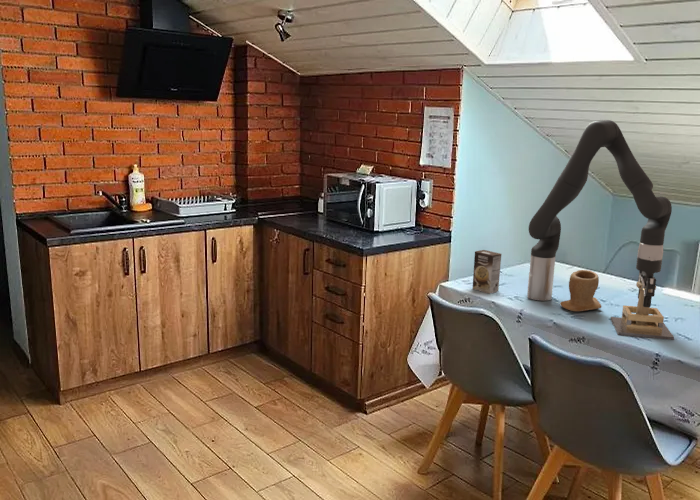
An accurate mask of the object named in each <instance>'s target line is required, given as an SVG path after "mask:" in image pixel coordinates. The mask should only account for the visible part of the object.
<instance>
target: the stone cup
mask: <svg viewBox="0 0 700 500" xmlns="http://www.w3.org/2000/svg"><path fill="white" fill-rule="evenodd" d="M599 279H600V278H599V275H598V274H597V273H596V272H594V271H592V270H588V269H580V270H576V271H574V272H572V273H571V275H570V277H569V281H568V289H569V290H568V291H569V296H570V297H569V299H568V300H567V299H566V300H562V301H561V302H559V304H560V306H561V307H562V308H564V309H565V310H568V311H571V312H587V311H592V310H598V309H601V308H602V304H601V303H600V301H599V300H598V299H597V298H596V297H594V296H595V295H596V292H597V289H598V287H599V282H600V281H599Z"/></svg>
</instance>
